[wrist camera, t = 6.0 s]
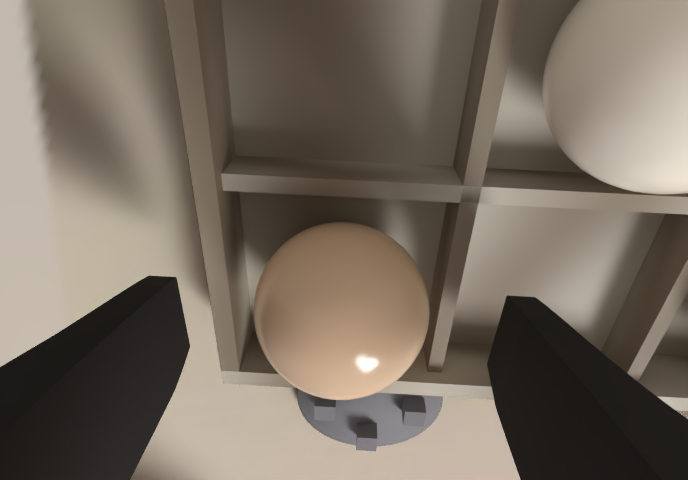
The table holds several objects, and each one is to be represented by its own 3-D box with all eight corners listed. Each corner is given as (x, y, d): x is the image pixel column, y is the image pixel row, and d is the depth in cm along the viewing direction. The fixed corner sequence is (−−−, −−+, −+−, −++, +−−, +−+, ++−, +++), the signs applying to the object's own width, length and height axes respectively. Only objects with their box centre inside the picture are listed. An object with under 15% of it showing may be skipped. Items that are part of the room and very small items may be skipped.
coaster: (300, 432, 16) (296, 457, 15) (297, 335, 14) (293, 357, 13) (429, 440, 16) (433, 465, 15) (451, 343, 14) (457, 367, 13)
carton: (242, 329, 14) (223, 383, 12) (188, -154, 8) (131, -204, 6) (779, 360, 13) (848, 421, 11) (1148, -118, 7) (1418, -159, 6)
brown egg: (274, 315, 12) (241, 436, 9) (267, 190, 10) (221, 283, 7) (408, 321, 12) (428, 445, 9) (427, 197, 10) (461, 295, 7)
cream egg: (495, 147, 10) (567, 229, 6) (542, -64, 8) (688, -116, 4) (670, 156, 10) (841, 244, 6) (762, -56, 8) (1093, -100, 4)
